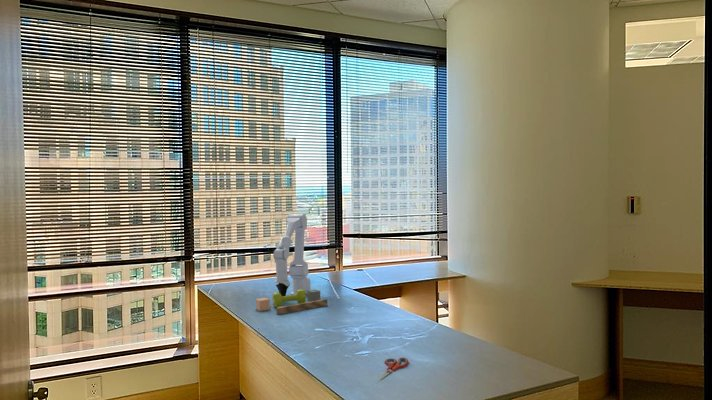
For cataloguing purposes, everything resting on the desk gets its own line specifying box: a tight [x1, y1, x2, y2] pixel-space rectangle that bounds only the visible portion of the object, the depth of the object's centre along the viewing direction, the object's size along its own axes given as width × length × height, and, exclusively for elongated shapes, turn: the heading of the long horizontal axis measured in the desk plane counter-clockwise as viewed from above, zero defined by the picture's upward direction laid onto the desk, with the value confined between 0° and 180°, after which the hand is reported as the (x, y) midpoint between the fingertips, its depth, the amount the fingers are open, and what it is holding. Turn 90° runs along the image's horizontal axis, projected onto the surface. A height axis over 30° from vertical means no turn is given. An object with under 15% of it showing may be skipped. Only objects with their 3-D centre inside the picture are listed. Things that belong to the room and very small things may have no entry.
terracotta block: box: [255, 297, 271, 312], centre depth 240 cm, size 5×5×5 cm
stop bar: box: [276, 298, 328, 316], centre depth 236 cm, size 26×2×3 cm, turn 123°
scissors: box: [376, 357, 409, 383], centre depth 153 cm, size 8×21×2 cm, turn 165°
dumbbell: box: [272, 289, 307, 309], centre depth 246 cm, size 16×8×7 cm, turn 114°
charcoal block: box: [306, 289, 322, 302], centre depth 255 cm, size 5×5×5 cm
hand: (283, 297), depth 255 cm, fingers closed
